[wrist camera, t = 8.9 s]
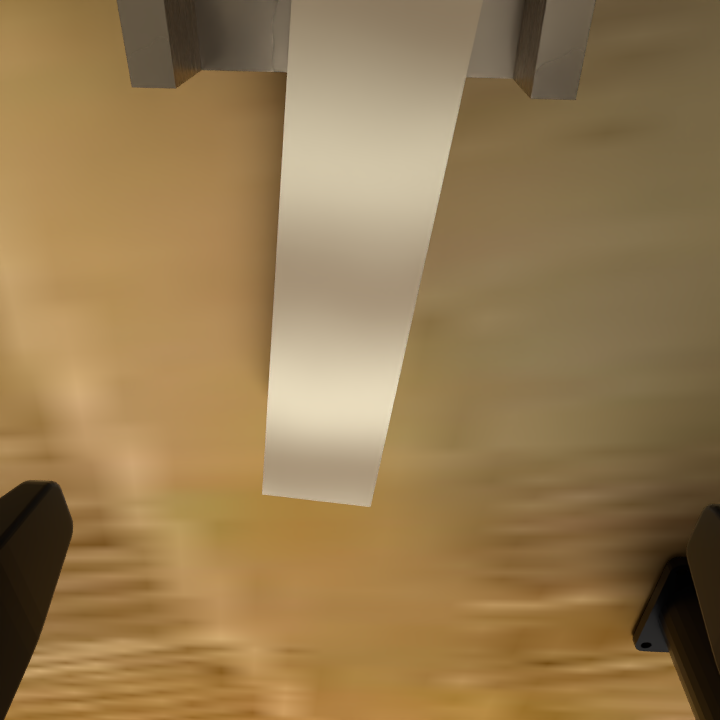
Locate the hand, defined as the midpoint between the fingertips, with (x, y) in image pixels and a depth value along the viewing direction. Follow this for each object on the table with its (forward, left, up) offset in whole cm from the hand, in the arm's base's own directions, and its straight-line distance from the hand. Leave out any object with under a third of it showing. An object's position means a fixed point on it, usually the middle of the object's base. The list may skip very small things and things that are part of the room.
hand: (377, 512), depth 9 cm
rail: (0, +1, -12) cm, 12 cm away
